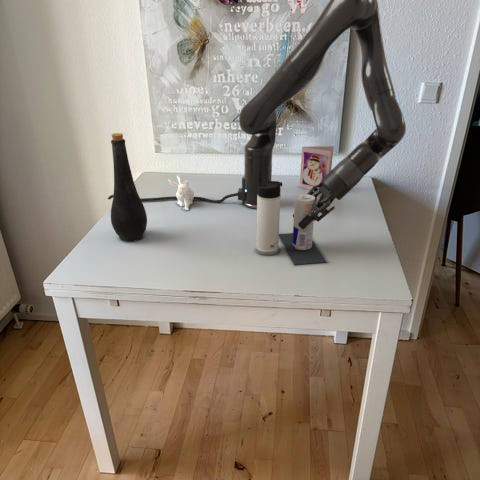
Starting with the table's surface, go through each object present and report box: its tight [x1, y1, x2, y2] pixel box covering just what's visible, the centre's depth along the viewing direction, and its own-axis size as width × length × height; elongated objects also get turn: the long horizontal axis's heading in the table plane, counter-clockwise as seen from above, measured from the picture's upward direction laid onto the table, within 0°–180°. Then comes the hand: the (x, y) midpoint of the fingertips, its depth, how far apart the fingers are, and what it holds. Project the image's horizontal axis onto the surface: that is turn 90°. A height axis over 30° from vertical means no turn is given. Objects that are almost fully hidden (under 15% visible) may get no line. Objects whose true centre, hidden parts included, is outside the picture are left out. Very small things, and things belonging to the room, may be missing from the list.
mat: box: [279, 232, 327, 266], centre depth 142 cm, size 20×9×1 cm, turn 9°
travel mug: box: [256, 180, 283, 256], centre depth 135 cm, size 6×7×20 cm
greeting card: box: [299, 146, 335, 191], centre depth 180 cm, size 11×7×15 cm, turn 55°
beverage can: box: [292, 193, 315, 250], centre depth 137 cm, size 6×6×15 cm
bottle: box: [110, 132, 148, 243], centre depth 140 cm, size 11×11×30 cm
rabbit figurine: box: [167, 175, 195, 211], centre depth 169 cm, size 12×8×10 cm, turn 170°
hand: (297, 222), depth 137 cm, fingers closed on beverage can, 5 cm apart
